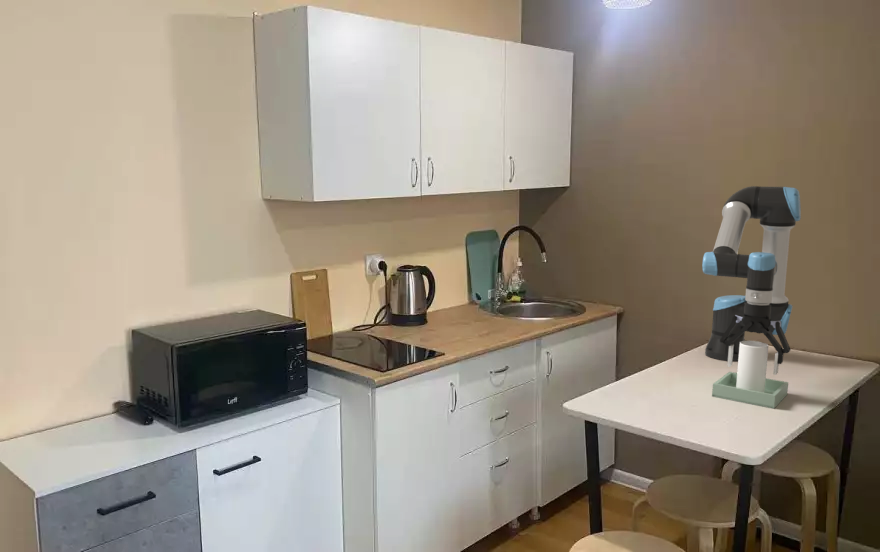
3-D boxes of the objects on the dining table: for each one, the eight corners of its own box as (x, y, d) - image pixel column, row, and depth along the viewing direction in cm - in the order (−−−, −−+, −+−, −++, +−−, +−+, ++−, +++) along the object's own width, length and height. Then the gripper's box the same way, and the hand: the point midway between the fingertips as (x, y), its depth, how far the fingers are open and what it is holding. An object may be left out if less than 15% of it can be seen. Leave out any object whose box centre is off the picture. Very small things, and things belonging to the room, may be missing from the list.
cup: (759, 390, 230) (763, 341, 228) (768, 398, 222) (772, 347, 220) (732, 388, 231) (736, 340, 229) (740, 396, 223) (744, 346, 221)
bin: (728, 383, 239) (729, 371, 238) (787, 394, 228) (788, 382, 228) (711, 396, 225) (712, 383, 224) (773, 408, 214) (775, 395, 214)
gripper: (713, 299, 227) (707, 364, 230) (799, 310, 212) (793, 379, 215) (720, 296, 233) (715, 359, 236) (805, 306, 218) (798, 374, 221)
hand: (752, 369), depth 226 cm, fingers open, 13 cm apart
